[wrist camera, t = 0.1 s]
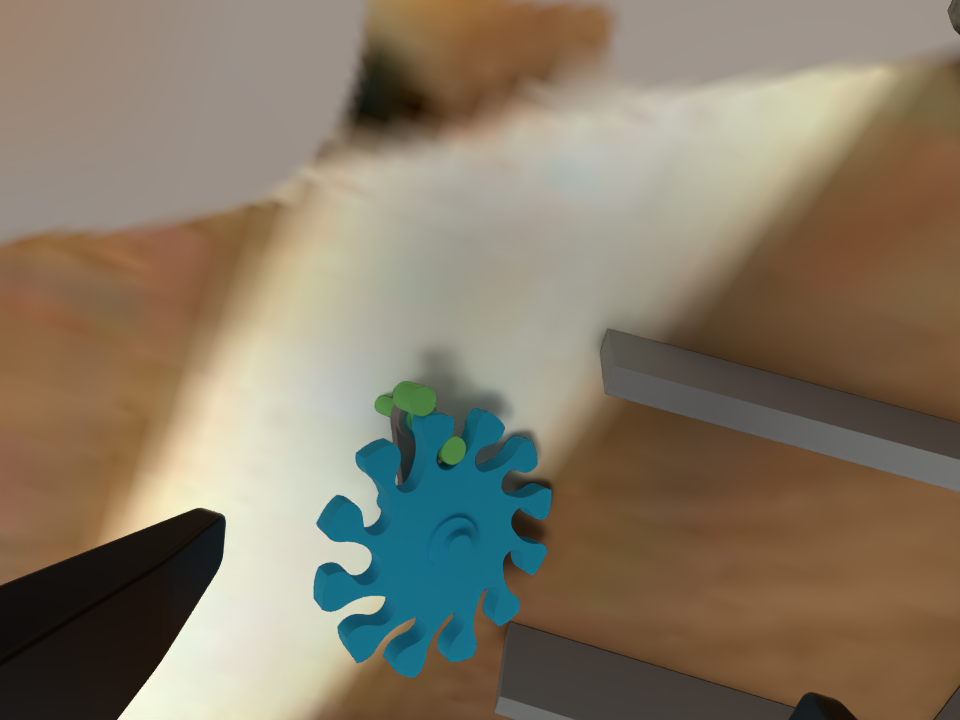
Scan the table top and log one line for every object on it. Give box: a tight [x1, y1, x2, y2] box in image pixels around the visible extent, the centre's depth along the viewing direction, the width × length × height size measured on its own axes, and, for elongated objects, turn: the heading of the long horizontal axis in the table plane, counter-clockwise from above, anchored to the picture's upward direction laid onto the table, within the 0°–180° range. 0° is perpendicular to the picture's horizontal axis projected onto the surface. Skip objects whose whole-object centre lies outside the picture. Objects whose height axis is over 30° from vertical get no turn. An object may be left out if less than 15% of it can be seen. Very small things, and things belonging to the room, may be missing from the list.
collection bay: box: [494, 329, 960, 720], centre depth 22 cm, size 16×20×4 cm
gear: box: [314, 381, 552, 678], centre depth 23 cm, size 11×6×10 cm
